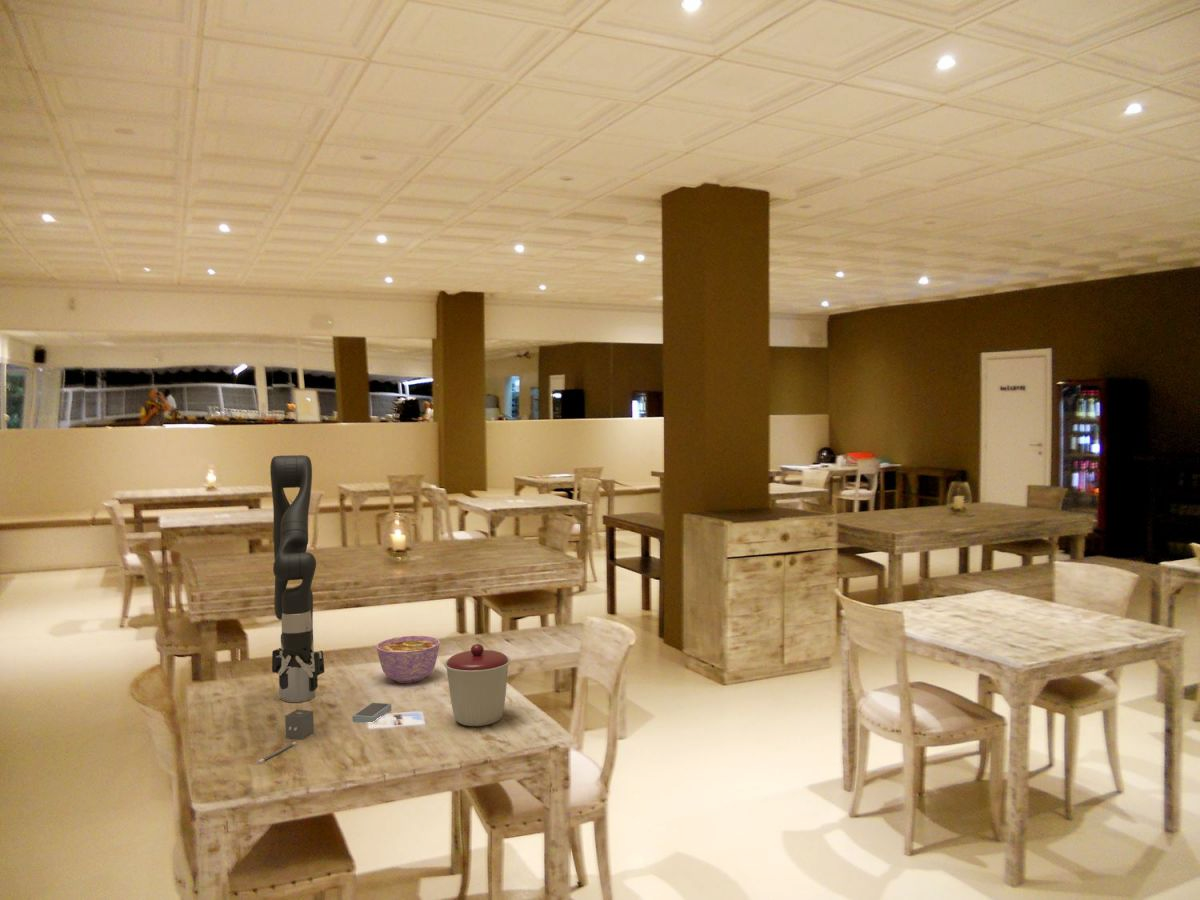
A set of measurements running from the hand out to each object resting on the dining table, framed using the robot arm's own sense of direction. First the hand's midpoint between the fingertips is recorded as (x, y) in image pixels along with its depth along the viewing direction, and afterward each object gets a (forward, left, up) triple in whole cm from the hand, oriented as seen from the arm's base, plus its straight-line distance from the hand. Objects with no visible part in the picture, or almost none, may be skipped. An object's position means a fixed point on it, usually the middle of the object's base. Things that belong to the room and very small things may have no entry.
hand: (298, 689), depth 226 cm
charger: (0, 0, -12) cm, 12 cm away
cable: (+2, -12, -12) cm, 17 cm away
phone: (+11, +18, -13) cm, 25 cm away
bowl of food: (+5, +51, -13) cm, 53 cm away
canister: (+42, +21, -13) cm, 49 cm away
